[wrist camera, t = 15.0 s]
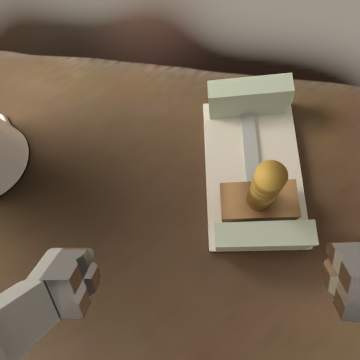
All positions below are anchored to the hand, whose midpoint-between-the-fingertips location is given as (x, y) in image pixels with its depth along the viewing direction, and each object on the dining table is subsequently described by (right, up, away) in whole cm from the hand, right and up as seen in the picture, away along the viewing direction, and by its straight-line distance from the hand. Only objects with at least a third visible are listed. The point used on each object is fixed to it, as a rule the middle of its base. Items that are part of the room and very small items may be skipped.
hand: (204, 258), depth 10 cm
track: (+10, +4, +35) cm, 37 cm away
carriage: (+10, -1, +30) cm, 32 cm away
